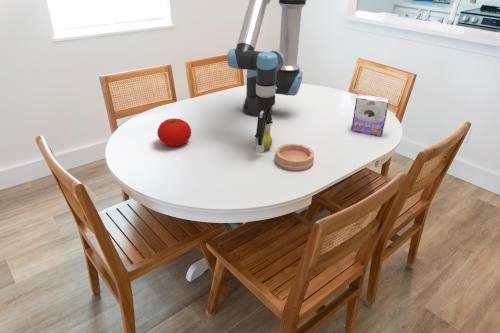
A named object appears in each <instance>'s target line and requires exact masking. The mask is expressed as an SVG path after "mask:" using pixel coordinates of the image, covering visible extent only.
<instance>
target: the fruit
mask: <svg viewBox="0 0 500 333" xmlns="http://www.w3.org/2000/svg"><path fill="white" fill-rule="evenodd" d="M267 123H268V122H267ZM267 123H266V125H267ZM266 125H265V126H266ZM255 144H256V146H257V138H256V137H255ZM272 145H273V138H272V135H271V134H270V135H269V133H268V131H267V129H265V130H264V150H267V149H270V148H271V147H272Z"/></svg>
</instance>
